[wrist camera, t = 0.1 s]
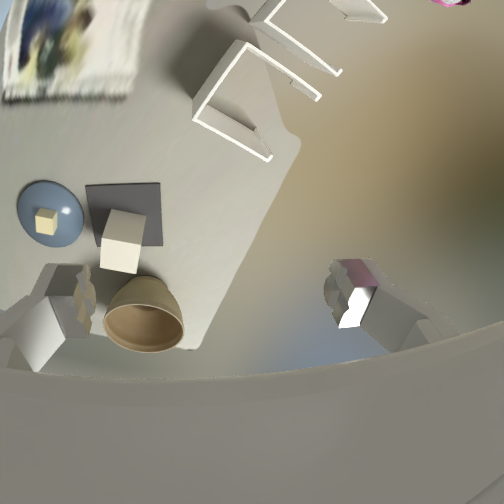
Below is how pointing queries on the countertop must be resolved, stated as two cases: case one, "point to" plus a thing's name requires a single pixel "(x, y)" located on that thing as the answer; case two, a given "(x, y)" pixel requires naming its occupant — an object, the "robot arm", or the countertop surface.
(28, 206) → the plate
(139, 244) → the white rectangular block
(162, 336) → the planter bowl
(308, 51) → the storage container
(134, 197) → the mat
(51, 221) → the butter
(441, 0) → the gum box
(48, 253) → the countertop surface
